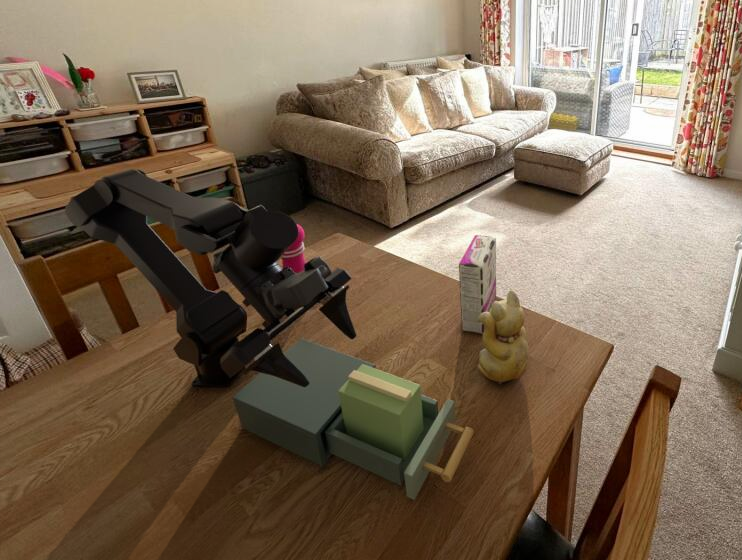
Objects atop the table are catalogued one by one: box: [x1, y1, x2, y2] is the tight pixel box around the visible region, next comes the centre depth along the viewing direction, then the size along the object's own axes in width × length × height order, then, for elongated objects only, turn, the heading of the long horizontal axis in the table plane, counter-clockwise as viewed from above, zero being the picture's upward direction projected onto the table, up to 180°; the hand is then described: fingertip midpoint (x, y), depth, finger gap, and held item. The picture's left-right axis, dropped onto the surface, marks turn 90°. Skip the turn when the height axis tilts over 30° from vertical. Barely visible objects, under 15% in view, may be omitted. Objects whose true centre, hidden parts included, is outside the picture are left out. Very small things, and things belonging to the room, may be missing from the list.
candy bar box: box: [458, 234, 497, 335], centre depth 83 cm, size 11×5×16 cm, turn 168°
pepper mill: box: [280, 223, 308, 274], centre depth 86 cm, size 7×7×20 cm
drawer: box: [325, 394, 474, 501], centre depth 58 cm, size 19×11×5 cm, turn 70°
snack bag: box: [338, 364, 424, 461], centre depth 58 cm, size 5×10×10 cm, turn 70°
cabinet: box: [232, 338, 377, 467], centre depth 63 cm, size 16×13×7 cm
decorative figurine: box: [477, 289, 530, 385], centre depth 70 cm, size 10×8×15 cm
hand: (332, 360), depth 58 cm, fingers open, 9 cm apart
